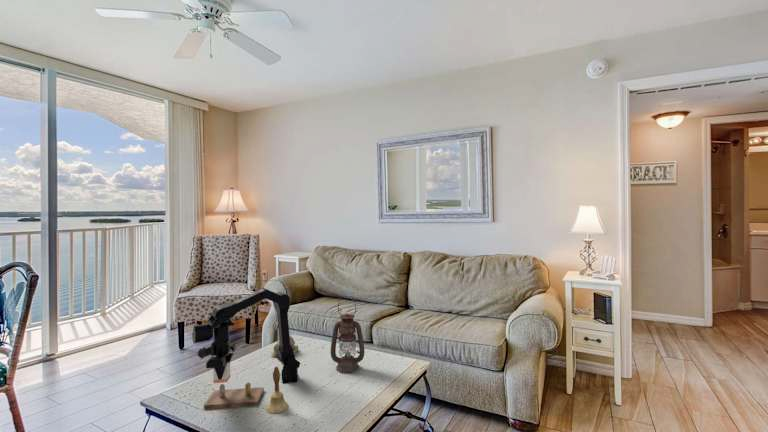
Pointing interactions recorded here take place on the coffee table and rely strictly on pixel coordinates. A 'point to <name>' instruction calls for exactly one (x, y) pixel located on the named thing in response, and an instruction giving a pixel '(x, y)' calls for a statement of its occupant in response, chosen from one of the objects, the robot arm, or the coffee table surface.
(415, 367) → the coffee table surface
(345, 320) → the lantern
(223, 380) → the sleeve
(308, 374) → the coffee table surface
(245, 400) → the pin board
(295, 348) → the ceramic model
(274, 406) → the hand bell
